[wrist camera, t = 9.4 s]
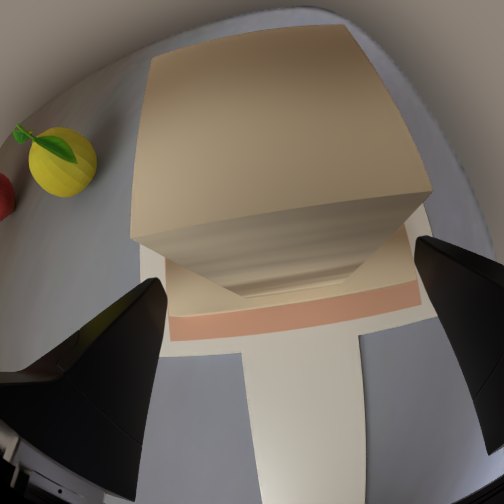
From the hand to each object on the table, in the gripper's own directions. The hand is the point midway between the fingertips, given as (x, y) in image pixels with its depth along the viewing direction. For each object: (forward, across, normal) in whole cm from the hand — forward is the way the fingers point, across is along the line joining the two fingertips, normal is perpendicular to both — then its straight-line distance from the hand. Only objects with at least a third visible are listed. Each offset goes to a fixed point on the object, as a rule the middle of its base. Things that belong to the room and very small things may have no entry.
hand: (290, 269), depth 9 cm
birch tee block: (+7, 0, +4) cm, 8 cm away
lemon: (+15, +17, -3) cm, 22 cm away
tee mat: (+3, 0, +9) cm, 10 cm away
